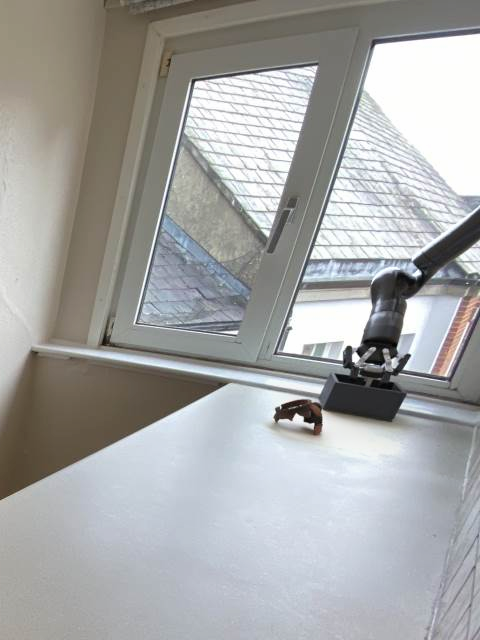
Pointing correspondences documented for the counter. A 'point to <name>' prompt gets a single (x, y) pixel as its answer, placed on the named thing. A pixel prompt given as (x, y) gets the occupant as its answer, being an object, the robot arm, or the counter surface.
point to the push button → (371, 374)
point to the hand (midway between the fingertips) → (367, 383)
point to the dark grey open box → (361, 397)
